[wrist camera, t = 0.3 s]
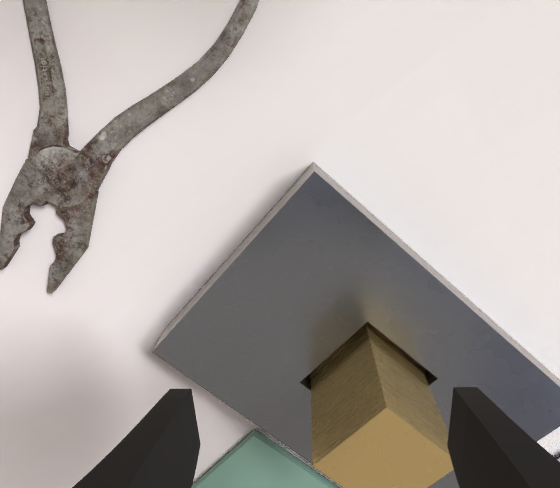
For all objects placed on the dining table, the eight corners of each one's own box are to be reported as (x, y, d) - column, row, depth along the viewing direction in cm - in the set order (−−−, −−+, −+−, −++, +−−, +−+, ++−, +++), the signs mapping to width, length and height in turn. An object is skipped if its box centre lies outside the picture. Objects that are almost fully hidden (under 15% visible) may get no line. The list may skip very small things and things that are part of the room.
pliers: (292, -124, 15) (175, 330, 22) (293, -113, 16) (179, 321, 23) (23, -222, 15) (-7, 276, 22) (38, -206, 15) (4, 269, 23)
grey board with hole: (562, 382, 23) (585, 409, 21) (398, 496, 26) (405, 528, 25) (313, 162, 19) (314, 171, 17) (164, 329, 23) (151, 351, 21)
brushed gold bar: (415, 353, 23) (461, 464, 16) (363, 397, 24) (384, 516, 17) (362, 309, 22) (386, 407, 15) (310, 356, 23) (312, 466, 17)
